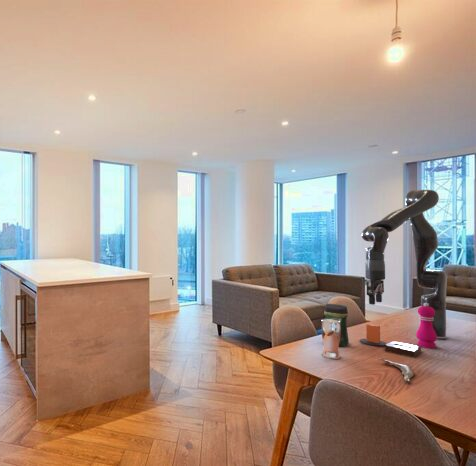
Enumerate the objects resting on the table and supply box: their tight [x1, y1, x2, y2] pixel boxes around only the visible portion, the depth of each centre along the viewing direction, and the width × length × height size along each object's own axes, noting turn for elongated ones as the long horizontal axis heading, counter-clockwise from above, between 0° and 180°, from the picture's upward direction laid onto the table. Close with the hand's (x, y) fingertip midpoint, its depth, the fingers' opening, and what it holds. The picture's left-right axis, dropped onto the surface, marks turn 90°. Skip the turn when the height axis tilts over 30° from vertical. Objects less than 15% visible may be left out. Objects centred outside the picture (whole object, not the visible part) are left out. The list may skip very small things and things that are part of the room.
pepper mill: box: [415, 303, 438, 349], centre depth 154 cm, size 7×7×20 cm
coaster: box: [360, 338, 388, 348], centre depth 158 cm, size 10×10×1 cm
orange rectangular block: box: [365, 323, 381, 344], centre depth 158 cm, size 2×5×8 cm, turn 37°
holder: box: [384, 340, 422, 358], centre depth 147 cm, size 10×10×2 cm
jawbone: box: [376, 357, 415, 384], centre depth 123 cm, size 9×20×2 cm, turn 168°
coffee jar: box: [323, 303, 350, 347], centre depth 158 cm, size 10×8×19 cm
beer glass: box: [321, 318, 341, 360], centre depth 141 cm, size 7×7×15 cm
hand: (375, 303), depth 158 cm, fingers open, 8 cm apart
